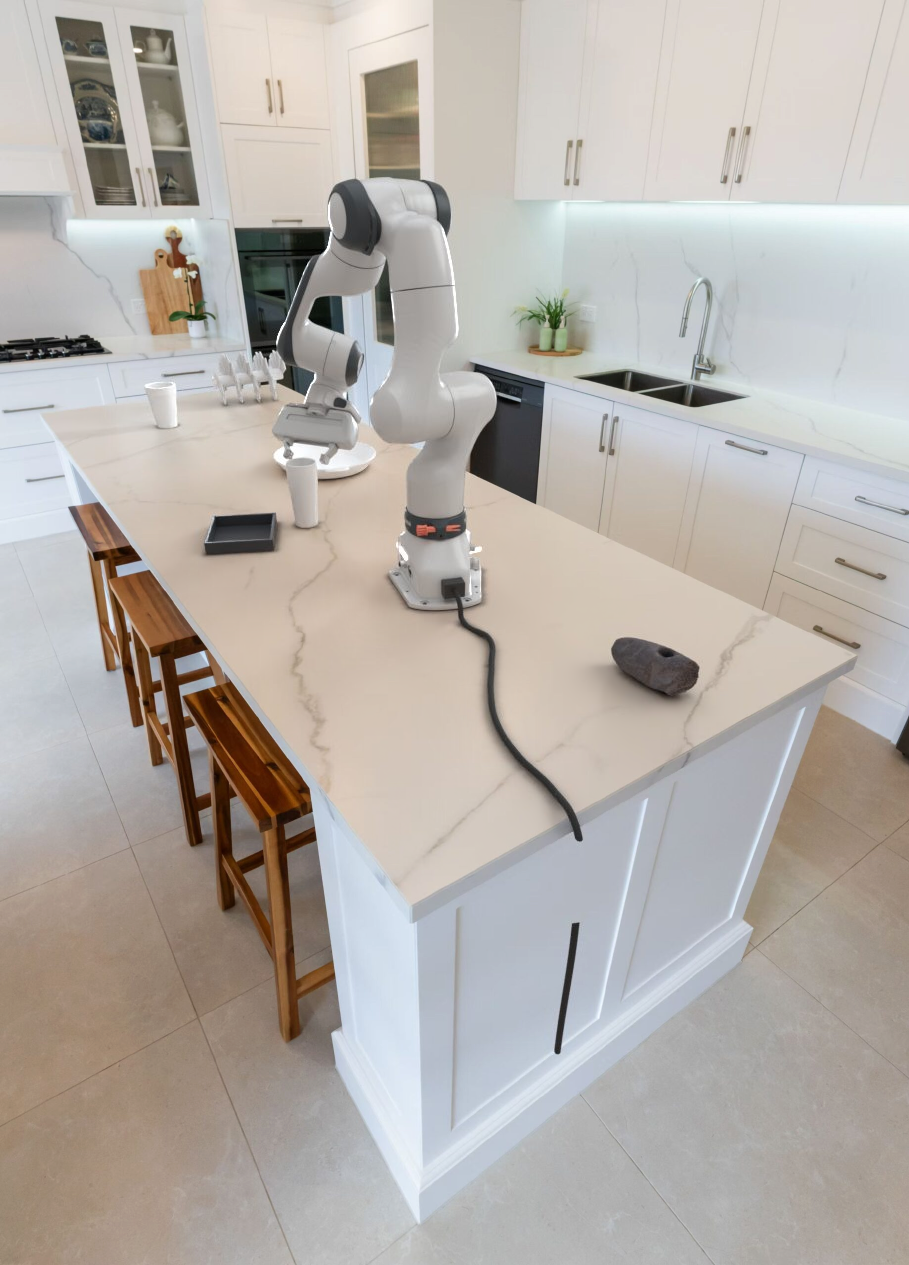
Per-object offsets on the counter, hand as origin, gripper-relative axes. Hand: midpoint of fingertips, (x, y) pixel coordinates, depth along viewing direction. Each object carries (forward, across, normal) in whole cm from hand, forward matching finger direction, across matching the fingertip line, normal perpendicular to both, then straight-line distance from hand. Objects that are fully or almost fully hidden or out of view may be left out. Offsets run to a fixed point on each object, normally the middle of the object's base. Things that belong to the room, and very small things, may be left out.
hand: (305, 460), depth 165 cm
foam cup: (-27, -87, +48) cm, 103 cm away
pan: (-16, -17, +37) cm, 43 cm away
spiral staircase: (-54, -81, +75) cm, 123 cm away
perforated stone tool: (+36, +84, -15) cm, 93 cm away
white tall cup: (+12, 0, +9) cm, 15 cm away
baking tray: (+20, -9, 0) cm, 22 cm away
